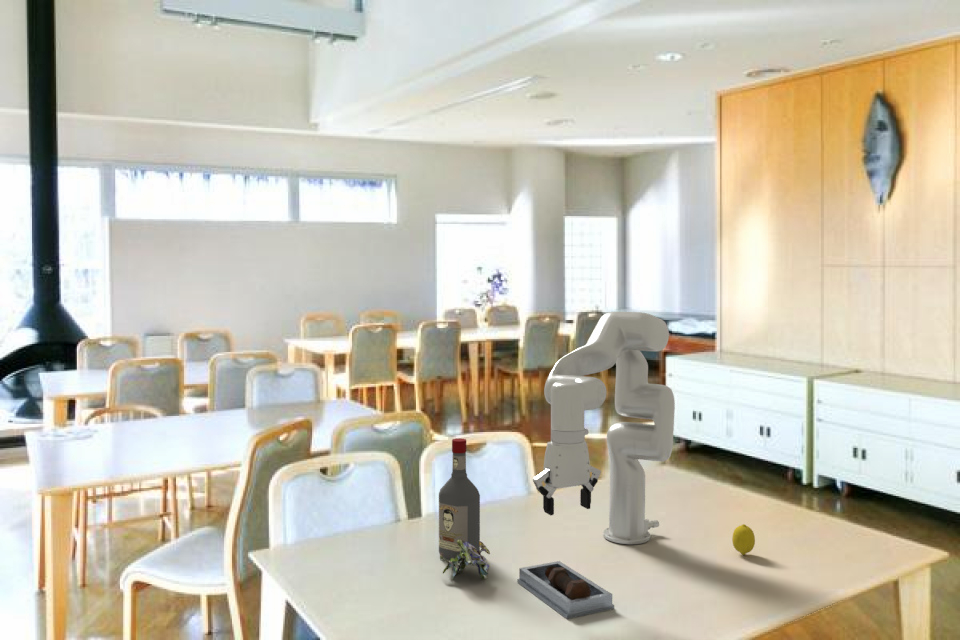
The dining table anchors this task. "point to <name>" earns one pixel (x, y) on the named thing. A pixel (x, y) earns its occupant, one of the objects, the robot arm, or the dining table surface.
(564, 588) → the bolt
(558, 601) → the tray
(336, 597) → the dining table surface
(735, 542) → the lemon
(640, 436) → the robot arm
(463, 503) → the liquor
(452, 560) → the passion flower
